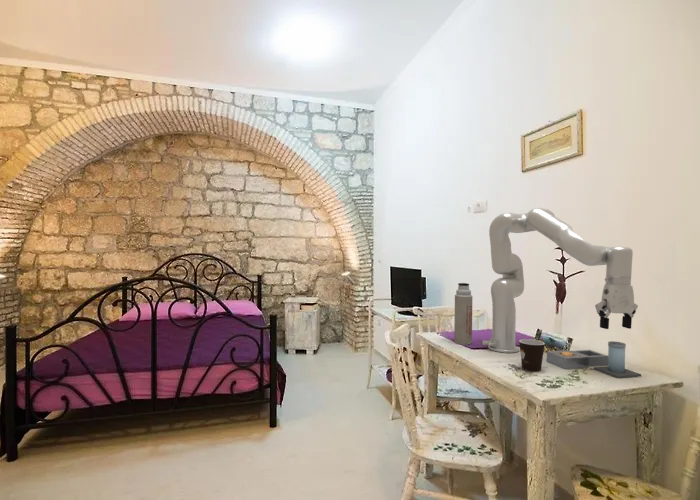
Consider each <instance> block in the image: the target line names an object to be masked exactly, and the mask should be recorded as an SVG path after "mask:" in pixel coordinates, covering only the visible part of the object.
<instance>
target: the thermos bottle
mask: <svg viewBox="0 0 700 500" xmlns="http://www.w3.org/2000/svg"><path fill="white" fill-rule="evenodd" d="M457 285H458V287H457V289H456V293H455V294H454V325H453V326H454V329H453V330H454V331H453V332H454V333H453V335H454V336H453V337H454V338H453V340H454V341H453V342H454V344H456V345H463V346H464V345H465V346H466V345H468V344H469V345H471V343H472V344H473V295H472V290H470V284H469V283H466V282H460V283H458V284H457Z"/></svg>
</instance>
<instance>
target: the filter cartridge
mask: <svg viewBox="0 0 700 500" xmlns="http://www.w3.org/2000/svg"><path fill="white" fill-rule="evenodd" d="M626 346H627V345H626V343H625V342H622V341H621V342H620V341H615V340H614V341H613V340H611V341H608V342H607V347H608V352H607V353H608V355H607V356H608V365H607V366H608V370H609V371H612V372H616V373H624V372H625V369H626V366H625V365H626V348H627V347H626Z"/></svg>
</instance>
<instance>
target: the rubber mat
mask: <svg viewBox="0 0 700 500" xmlns="http://www.w3.org/2000/svg"><path fill="white" fill-rule="evenodd" d="M593 370H594V371H597V372H600V373H602V374H606V375H608V376H610V377H613V378H615V379H629V378H639V377H638V376H641V377H642V374H641V373H639V372H636V371H633V370H630V369H627V368H625V372H624V373H616V372H612V371H609V370H608V365H603V366H593Z"/></svg>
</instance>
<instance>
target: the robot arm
mask: <svg viewBox="0 0 700 500" xmlns="http://www.w3.org/2000/svg"><path fill="white" fill-rule="evenodd" d="M535 231H536V232H538V233H540V234H541V235H543V236H544V237H546V238H547V239H549V240H550V241H551V242H554V244H556V246H557V247H559V248H560V249H561V250H562V251H564V252H565V253H566V254H567V255H569V256H570V257H572V258H573V259H575V260H576V261H577V262H579V263H581V264H583V265H585V266H588V267H594V266H596V267H597V266H606V269H605V278H604V282H605V284H604V286H603V289H602V294H601V301H600V302H598V303H596V304H595V305H594V308H595V310H596V313H597V314H598V317H600V318H599V328H601V329H605V330H609V329H610V328H609V325H610V318H609V316H610V315H611V313H612V314H622V315H623V316H622V319H621V320H622V321H621V326H622V327H623V328H624V329H629V330H631V329H632V323H633V322H632V321H633V318H634V316H635V314H636V312H637V310H638V307H639V305H638V304H637V303H635V294H634V287H633V285H632V273H633V270H632V268H633V249H632V248H631V247H625V246H611V247H609V246H604V245H595V244H594V245H593V244H591V242H588V241H587V240H585V239H584V238H582V236H579V235H578V234H576V233H575V231H574V230H573V227H572V226H571V225H570V224H568V223H566V222H565V221H563V220H561V219H560V218H558V217H557V216H556V215H555V213H554V212H553V211H551V210H550V209H547V208H542V207H535V208H532V209H530V211H528V212H525V213H513V212H504V213H500V214H499V215H497V216H496V217H495V218H494V219H493V220H492V221H491V223H490V225H489V230H488V232H489V242H490V243H489V245H490V255H491V256H490V257H491V268H492V270H493V272H494V273H496V274H498V275H501V276H502V277H499V278H498V279H494V281H493V282H492V284H491V286H490V295H491V296H490V297H491V301H492V309H491V310H492V319H491V320H492V323H491V324H492V328H491V329H492V332H491V337H489V339H488V340H481V344H482V346H488V347H487V348H488V349H489V350H491V351H494V352H498V353H506V354H510V353H511V354H512V353H514V354H515V353H517V352H520V347H519V346H518V345H517V346H516V328H517V327H516V319H517V317H516V315H517V313H516V312H517V311H516V302H515V298H519V297H520V296H521V295H522V294H523V293H524V291H525V279H524V278H525V277H524V267H523V262H522V260H521V258H520V256H519V255H517V254H515V253H513V252H512V244H511V239H510V237H509V235H510V233H511V234H512V233H513V234H522V233H523V234H524V233H528V232H535Z"/></svg>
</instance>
